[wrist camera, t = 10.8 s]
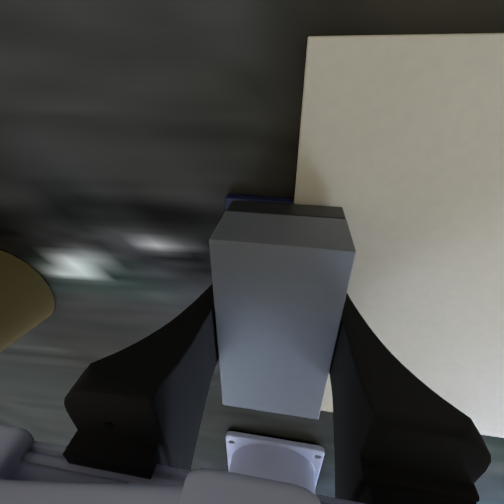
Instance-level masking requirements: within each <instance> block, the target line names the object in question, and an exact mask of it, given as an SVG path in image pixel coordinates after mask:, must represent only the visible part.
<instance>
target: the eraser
mask: <svg viewBox="0 0 504 504" xmlns="http://www.w3.org/2000/svg"><path fill="white" fill-rule="evenodd" d="M209 249H210V261H211V272H212V284H213V296H214V308H215V319H216V331H217V343H218V355H219V367H220V378H221V390H222V402H223V405H228V406H234V407H241V408H247V409H254V410H260V411H266V412H273V413H279V414H286V415H292V416H298V417H305V418H311V419H319V415H320V411H321V406H322V402H323V397H324V393H325V388H326V384H327V379H328V375H329V370H330V366H331V361H332V357H333V352H334V348H335V343H336V339H337V335H338V330H339V326H340V321H341V317H342V312H343V308H344V303H345V299H346V294H347V290H348V285H349V281H350V276H351V272H352V267H353V263H354V258H355V254H356V250H355V247H354V243H353V240H352V236H351V233H350V230H349V226H348V223H347V220H346V218H345V214H344V211H343V208H342V207H335V206H318V205H302V204H285V203H269V202H253V201H236V200H233V201H232V202H231V204H230V205H229V207H228V209H227V211H225V213H224V215H223V216H222V218H221V220H220V221H219V223H218V225H217V226H216V228H215V230H214V232H213V233H212V235H211V237H210V238H209Z"/></svg>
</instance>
